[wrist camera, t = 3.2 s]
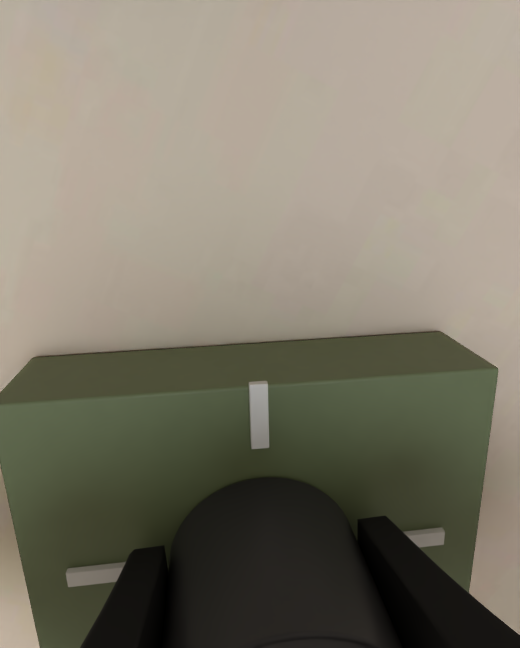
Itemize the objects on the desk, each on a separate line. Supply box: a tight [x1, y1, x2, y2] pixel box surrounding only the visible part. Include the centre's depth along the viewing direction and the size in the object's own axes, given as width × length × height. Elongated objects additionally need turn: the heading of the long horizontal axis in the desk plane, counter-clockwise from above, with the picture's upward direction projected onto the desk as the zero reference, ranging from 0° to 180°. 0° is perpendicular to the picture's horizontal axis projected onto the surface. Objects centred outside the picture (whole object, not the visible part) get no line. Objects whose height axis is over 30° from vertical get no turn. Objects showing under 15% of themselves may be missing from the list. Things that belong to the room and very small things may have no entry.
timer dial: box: [162, 477, 403, 648], centre depth 8 cm, size 4×4×4 cm
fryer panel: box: [0, 332, 498, 648], centre depth 12 cm, size 10×8×3 cm
